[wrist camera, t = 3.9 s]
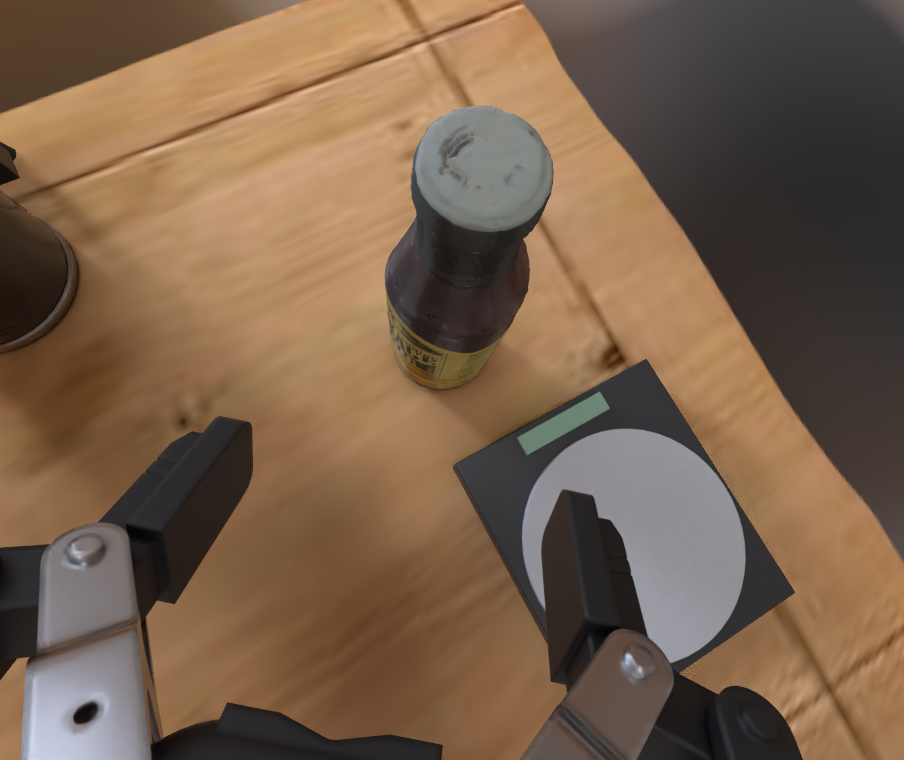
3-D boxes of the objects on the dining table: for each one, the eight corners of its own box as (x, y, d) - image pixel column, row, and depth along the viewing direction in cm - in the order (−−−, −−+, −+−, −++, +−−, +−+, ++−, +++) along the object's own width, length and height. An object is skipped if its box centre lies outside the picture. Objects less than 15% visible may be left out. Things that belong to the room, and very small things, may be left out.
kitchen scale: (452, 466, 32) (455, 463, 29) (632, 367, 34) (651, 355, 31) (584, 712, 29) (601, 735, 26) (770, 586, 31) (804, 594, 28)
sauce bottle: (380, 322, 33) (330, 82, 14) (466, 293, 34) (532, 30, 15) (413, 412, 32) (410, 286, 13) (502, 380, 33) (624, 217, 14)
